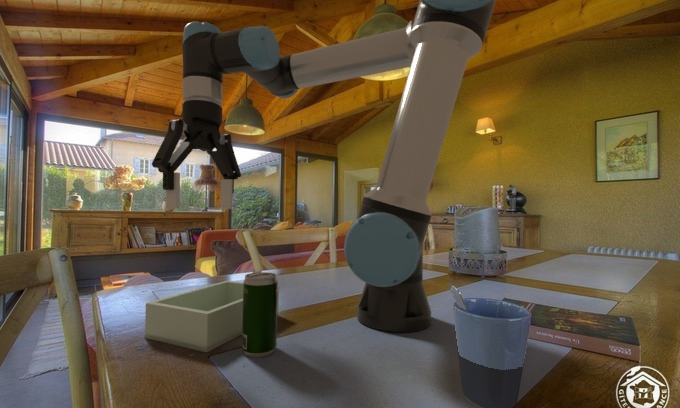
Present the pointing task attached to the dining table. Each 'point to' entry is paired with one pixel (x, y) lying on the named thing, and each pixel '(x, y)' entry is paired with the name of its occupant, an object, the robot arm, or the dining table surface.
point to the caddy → (198, 317)
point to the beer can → (259, 314)
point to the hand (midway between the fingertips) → (202, 209)
